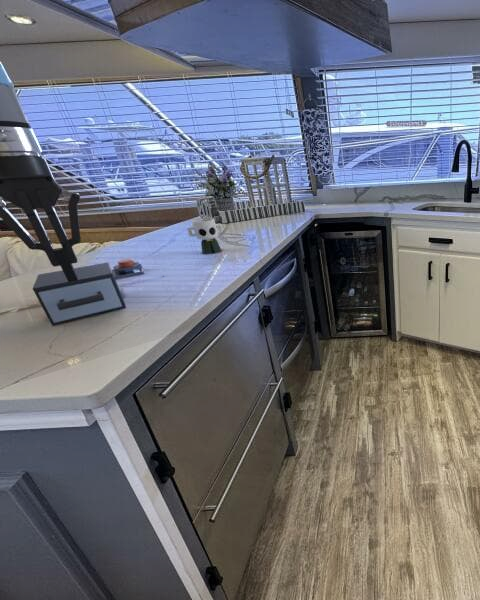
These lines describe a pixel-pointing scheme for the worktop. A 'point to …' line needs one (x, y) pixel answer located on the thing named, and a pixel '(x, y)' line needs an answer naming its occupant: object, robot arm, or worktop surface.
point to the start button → (126, 263)
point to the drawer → (80, 299)
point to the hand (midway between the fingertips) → (73, 279)
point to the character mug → (206, 234)
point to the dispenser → (83, 274)
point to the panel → (127, 271)
